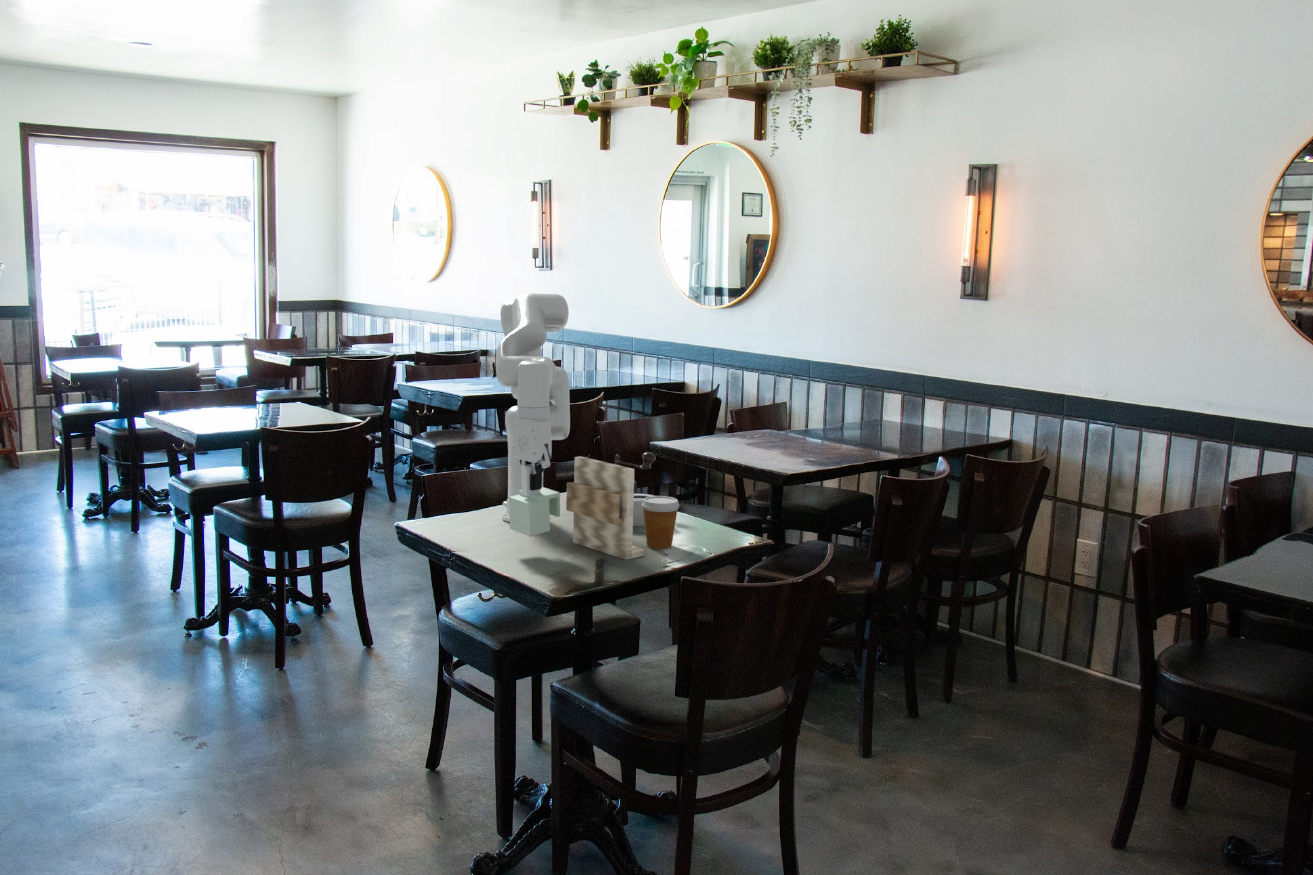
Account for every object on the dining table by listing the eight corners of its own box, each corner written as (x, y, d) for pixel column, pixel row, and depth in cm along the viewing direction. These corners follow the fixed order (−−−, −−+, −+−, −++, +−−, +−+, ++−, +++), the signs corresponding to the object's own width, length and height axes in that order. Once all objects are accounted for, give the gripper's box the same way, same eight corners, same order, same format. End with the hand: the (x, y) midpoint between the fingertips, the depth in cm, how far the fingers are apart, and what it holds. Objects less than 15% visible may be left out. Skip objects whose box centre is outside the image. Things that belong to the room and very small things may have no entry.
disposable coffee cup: (651, 552, 256) (652, 505, 254) (634, 543, 264) (635, 497, 262) (684, 548, 260) (686, 502, 258) (667, 539, 269) (668, 494, 267)
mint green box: (509, 528, 251) (507, 464, 248) (540, 520, 257) (538, 458, 254) (529, 536, 245) (528, 470, 242) (560, 528, 252) (559, 464, 248)
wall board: (563, 544, 261) (564, 458, 258) (591, 538, 268) (592, 454, 264) (615, 561, 247) (618, 471, 243) (644, 555, 253) (646, 467, 250)
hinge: (664, 521, 288) (667, 490, 283) (666, 530, 284) (669, 500, 279) (604, 521, 286) (606, 490, 281) (605, 531, 281) (607, 500, 277)
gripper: (500, 409, 248) (500, 484, 252) (541, 419, 237) (540, 497, 241) (526, 406, 253) (525, 480, 257) (566, 416, 242) (565, 492, 246)
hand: (532, 487), depth 249 cm, fingers closed on mint green box
